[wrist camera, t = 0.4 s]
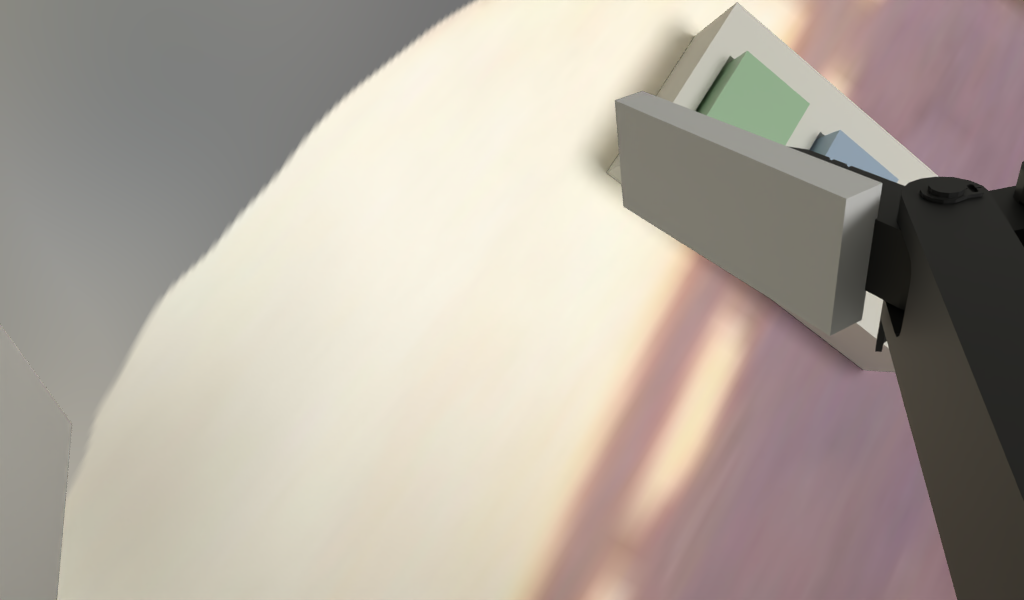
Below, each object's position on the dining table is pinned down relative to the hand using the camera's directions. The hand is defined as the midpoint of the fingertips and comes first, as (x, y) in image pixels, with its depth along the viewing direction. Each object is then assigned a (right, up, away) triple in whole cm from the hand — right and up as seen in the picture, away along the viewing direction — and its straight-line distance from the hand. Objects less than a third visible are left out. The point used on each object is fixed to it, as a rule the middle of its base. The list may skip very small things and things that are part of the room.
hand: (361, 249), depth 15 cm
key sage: (+19, +12, +38) cm, 44 cm away
